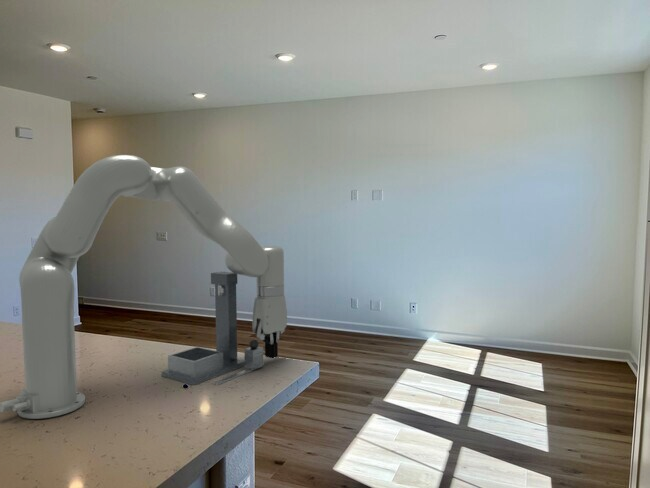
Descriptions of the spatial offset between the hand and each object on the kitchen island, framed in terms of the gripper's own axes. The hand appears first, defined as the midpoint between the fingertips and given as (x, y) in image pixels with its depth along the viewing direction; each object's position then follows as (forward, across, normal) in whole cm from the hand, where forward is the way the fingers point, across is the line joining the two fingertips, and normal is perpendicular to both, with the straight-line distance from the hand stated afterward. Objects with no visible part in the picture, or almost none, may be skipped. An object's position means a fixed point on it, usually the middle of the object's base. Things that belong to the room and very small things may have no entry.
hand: (271, 356), depth 132 cm
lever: (+1, +7, 0) cm, 7 cm away
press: (+1, +15, -10) cm, 18 cm away
